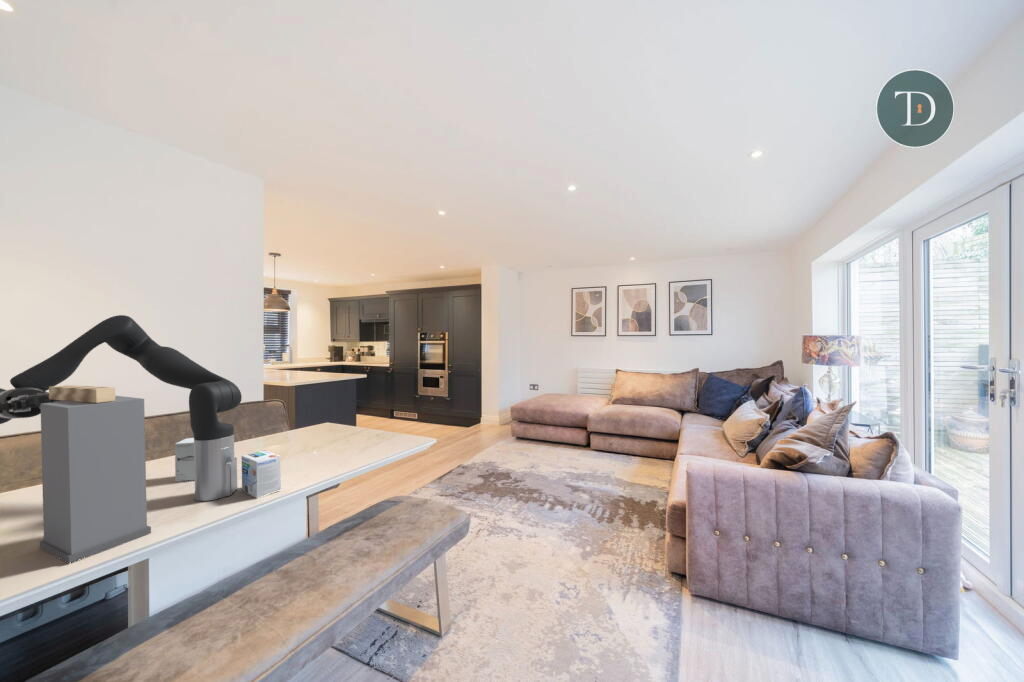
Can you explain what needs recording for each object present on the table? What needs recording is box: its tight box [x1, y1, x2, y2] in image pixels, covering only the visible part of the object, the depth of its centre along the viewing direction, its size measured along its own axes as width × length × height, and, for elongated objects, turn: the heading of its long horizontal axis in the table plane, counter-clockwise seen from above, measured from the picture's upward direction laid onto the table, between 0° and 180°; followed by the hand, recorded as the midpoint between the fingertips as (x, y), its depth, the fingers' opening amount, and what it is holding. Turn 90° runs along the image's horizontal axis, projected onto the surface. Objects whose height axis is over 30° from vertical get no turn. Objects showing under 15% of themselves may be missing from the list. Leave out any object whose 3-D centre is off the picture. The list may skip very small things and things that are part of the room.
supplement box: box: [174, 437, 195, 483], centre depth 124 cm, size 7×7×13 cm
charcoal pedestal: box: [39, 395, 152, 564], centre depth 85 cm, size 15×13×32 cm
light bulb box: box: [241, 450, 282, 499], centre depth 112 cm, size 11×7×11 cm, turn 56°
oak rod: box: [48, 384, 116, 403], centre depth 87 cm, size 22×3×3 cm, turn 68°
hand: (52, 400), depth 88 cm, fingers open, 8 cm apart
